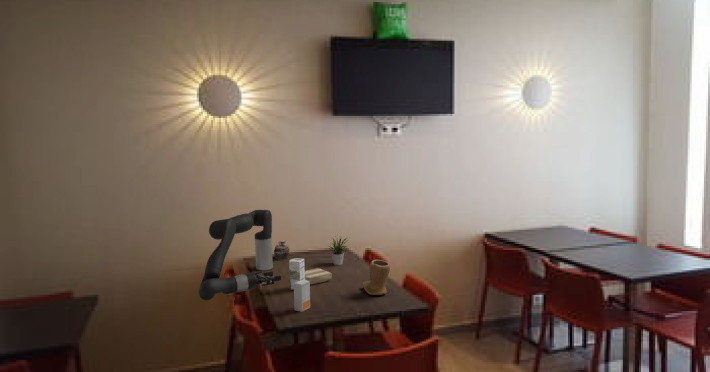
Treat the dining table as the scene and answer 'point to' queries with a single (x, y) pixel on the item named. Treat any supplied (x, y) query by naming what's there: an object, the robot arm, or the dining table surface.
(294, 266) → the syrup box
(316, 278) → the wood stand
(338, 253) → the house plant
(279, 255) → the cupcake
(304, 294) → the skincare box
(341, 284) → the dining table surface
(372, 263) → the stone cup
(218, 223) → the robot arm
